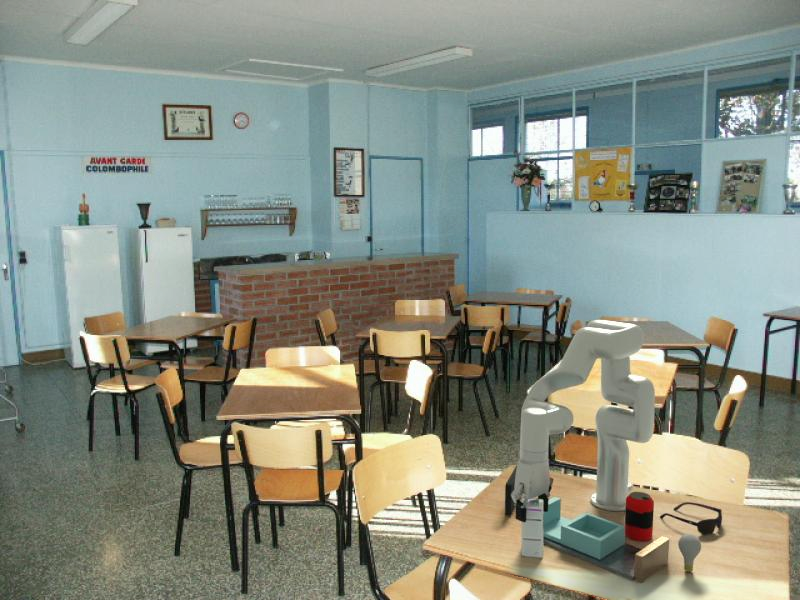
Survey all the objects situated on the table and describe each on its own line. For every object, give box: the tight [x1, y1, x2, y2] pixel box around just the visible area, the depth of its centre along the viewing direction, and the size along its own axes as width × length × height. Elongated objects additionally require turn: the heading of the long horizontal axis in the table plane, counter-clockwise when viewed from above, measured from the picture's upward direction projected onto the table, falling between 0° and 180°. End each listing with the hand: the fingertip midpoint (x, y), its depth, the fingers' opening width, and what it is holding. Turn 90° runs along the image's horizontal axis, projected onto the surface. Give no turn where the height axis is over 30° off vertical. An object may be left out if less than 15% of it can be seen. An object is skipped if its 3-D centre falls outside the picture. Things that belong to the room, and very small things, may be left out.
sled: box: [543, 496, 626, 560], centre depth 203 cm, size 12×22×7 cm, turn 43°
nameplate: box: [504, 464, 517, 516], centre depth 229 cm, size 21×2×10 cm, turn 159°
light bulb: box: [678, 533, 702, 573], centre depth 186 cm, size 6×5×10 cm
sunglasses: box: [659, 501, 723, 536], centre depth 215 cm, size 14×16×5 cm
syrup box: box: [521, 497, 544, 559], centre depth 196 cm, size 6×6×14 cm
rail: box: [543, 535, 670, 584], centre depth 199 cm, size 15×36×7 cm, turn 43°
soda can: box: [624, 491, 655, 542], centre depth 206 cm, size 8×8×12 cm
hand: (531, 515), depth 196 cm, fingers open, 9 cm apart
